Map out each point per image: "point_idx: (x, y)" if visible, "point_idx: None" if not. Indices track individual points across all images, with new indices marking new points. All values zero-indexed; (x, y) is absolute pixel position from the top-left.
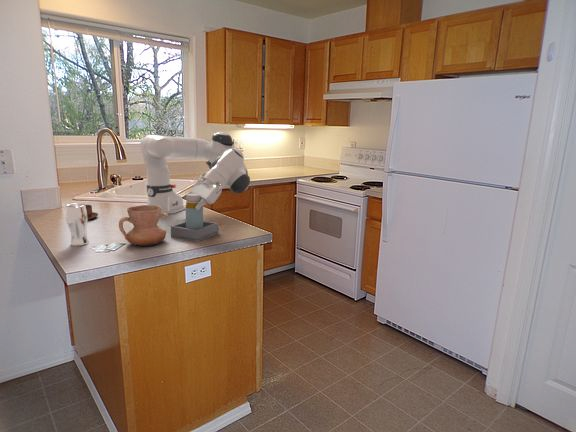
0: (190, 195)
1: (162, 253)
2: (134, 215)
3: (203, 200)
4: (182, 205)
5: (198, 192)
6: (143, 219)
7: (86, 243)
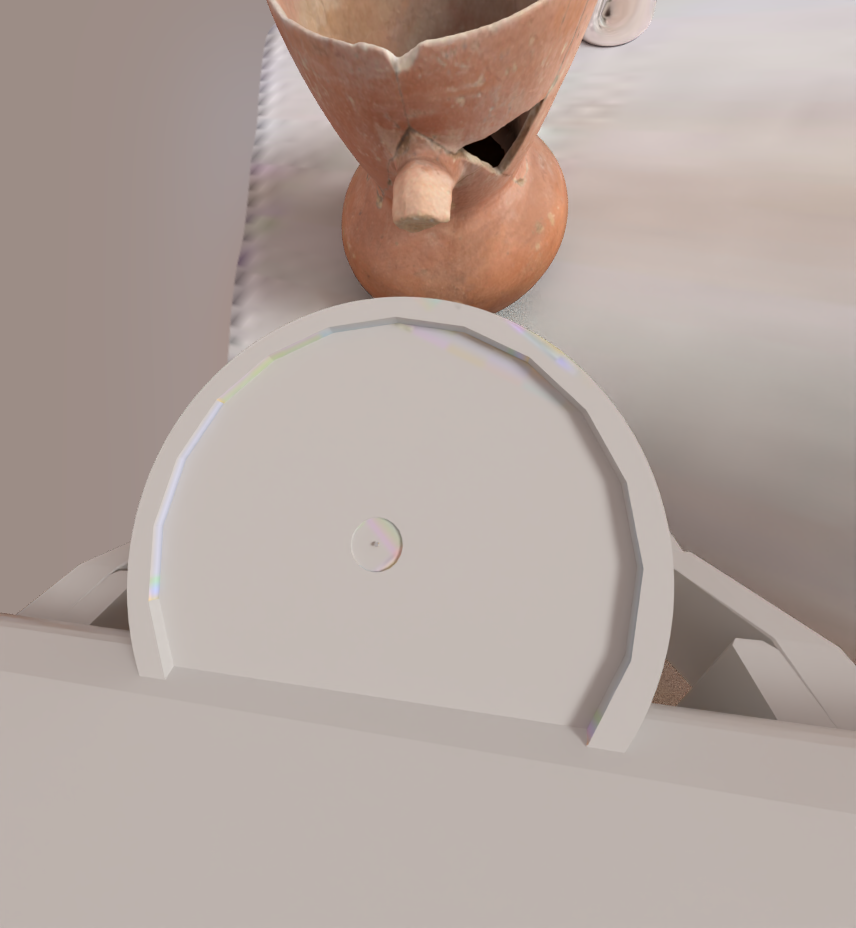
0: (248, 362)
1: (260, 284)
2: None
3: (48, 613)
4: None
5: (409, 829)
6: (327, 33)
7: (585, 35)
